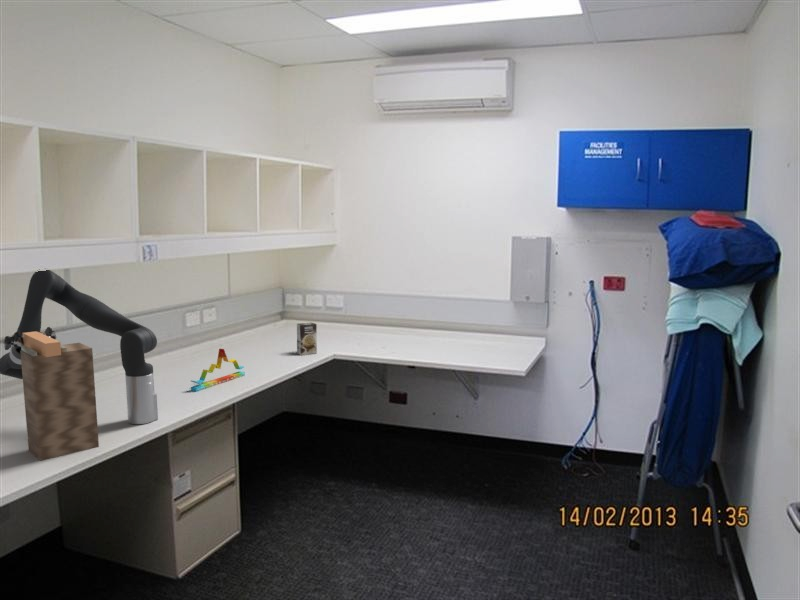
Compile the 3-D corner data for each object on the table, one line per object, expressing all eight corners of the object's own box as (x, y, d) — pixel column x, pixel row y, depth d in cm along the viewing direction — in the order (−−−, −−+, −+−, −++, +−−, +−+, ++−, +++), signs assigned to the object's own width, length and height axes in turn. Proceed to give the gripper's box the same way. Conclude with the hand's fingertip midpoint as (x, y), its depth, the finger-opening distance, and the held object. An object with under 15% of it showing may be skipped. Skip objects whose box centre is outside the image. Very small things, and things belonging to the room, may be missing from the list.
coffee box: (301, 355, 335) (300, 325, 333) (296, 353, 340) (296, 323, 338) (317, 353, 339) (316, 323, 337) (313, 351, 345) (312, 321, 343)
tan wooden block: (37, 343, 208) (36, 331, 207) (61, 355, 191) (60, 341, 190) (23, 345, 205) (22, 332, 205) (46, 357, 188) (45, 343, 188)
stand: (85, 437, 213) (78, 339, 209) (98, 446, 205) (91, 344, 200) (28, 450, 202) (20, 346, 197) (40, 460, 193) (31, 352, 189)
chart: (196, 392, 267) (195, 357, 265) (191, 391, 269) (189, 356, 267) (245, 376, 294) (244, 343, 292) (239, 375, 296) (238, 343, 294)
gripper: (-3, 342, 209) (6, 323, 198) (45, 336, 219) (56, 317, 208) (1, 364, 207) (11, 345, 196) (50, 357, 217) (61, 339, 206)
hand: (34, 331), depth 202 cm, fingers open, 8 cm apart
